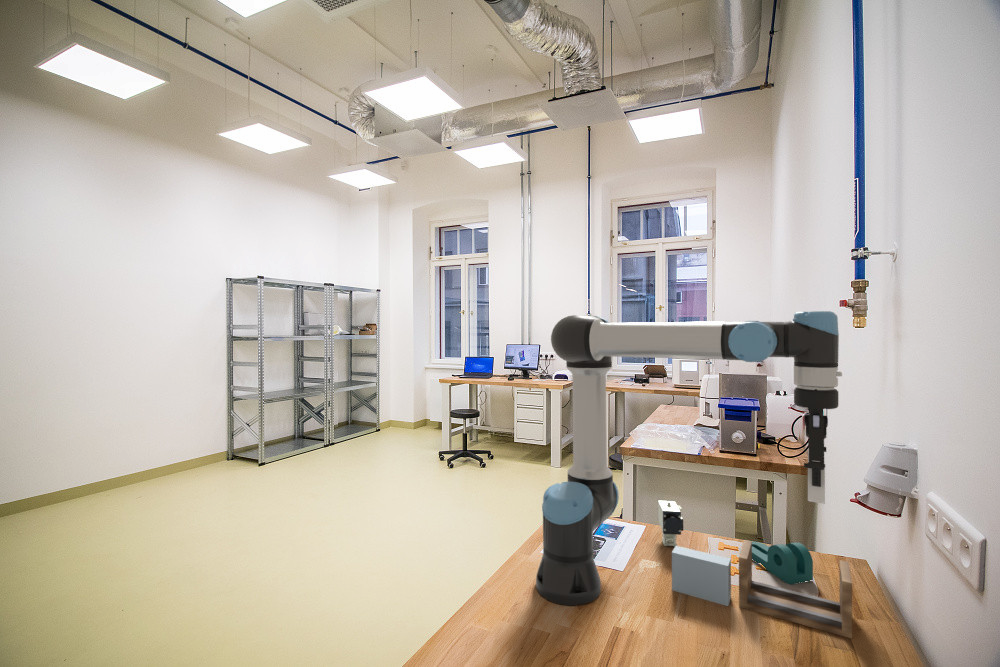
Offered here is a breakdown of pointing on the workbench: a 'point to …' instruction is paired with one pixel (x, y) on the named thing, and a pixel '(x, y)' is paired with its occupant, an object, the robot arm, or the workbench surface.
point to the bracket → (785, 561)
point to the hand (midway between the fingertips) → (815, 491)
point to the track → (797, 599)
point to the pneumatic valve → (669, 521)
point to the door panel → (701, 575)
